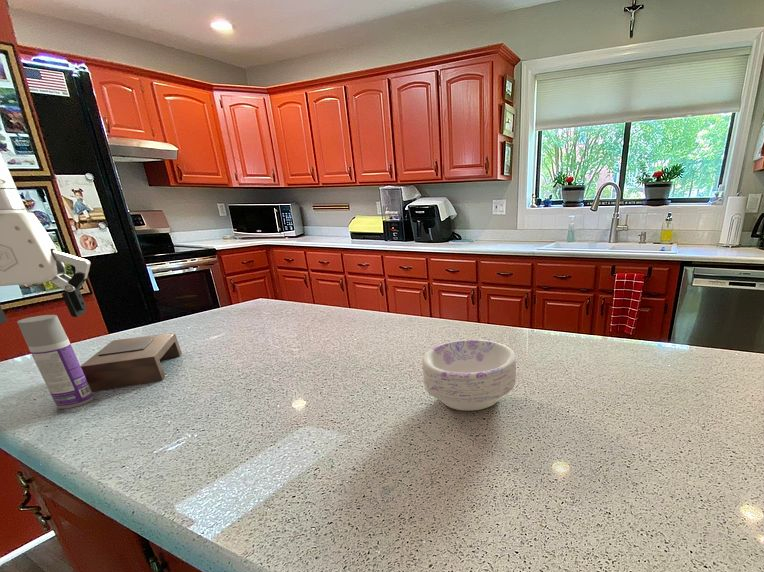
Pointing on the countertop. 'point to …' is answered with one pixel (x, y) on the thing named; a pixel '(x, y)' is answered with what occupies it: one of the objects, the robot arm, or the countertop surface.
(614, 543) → the countertop surface
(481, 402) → the paper bowls
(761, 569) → the countertop surface
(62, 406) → the container
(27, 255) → the robot arm
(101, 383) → the shelf
